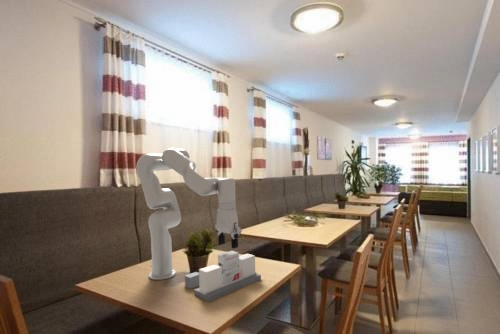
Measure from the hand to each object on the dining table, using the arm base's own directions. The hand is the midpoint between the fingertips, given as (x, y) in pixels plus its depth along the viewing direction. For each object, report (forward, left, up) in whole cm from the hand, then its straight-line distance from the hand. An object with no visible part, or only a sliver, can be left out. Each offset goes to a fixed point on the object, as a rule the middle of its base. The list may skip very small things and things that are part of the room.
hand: (228, 245), depth 131 cm
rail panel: (0, 0, -18) cm, 18 cm away
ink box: (0, 0, -15) cm, 15 cm away
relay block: (-13, -10, -18) cm, 24 cm away
